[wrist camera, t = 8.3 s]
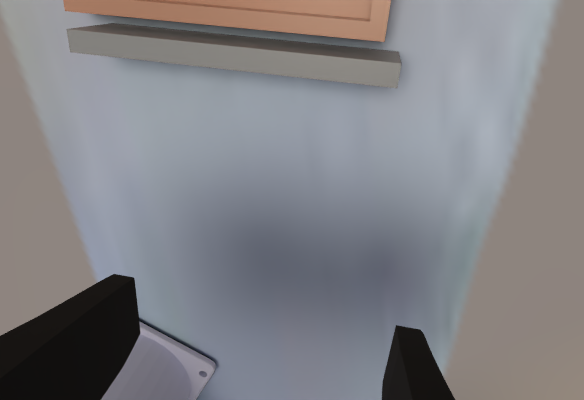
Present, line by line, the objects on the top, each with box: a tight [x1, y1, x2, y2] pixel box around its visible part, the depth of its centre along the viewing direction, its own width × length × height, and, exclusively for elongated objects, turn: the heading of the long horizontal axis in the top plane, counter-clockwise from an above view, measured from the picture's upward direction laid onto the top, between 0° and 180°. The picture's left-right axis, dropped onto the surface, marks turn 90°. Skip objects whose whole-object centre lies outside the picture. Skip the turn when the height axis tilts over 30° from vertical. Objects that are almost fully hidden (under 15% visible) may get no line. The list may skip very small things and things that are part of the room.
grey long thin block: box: [67, 23, 401, 88], centre depth 16 cm, size 1×12×3 cm, turn 86°
